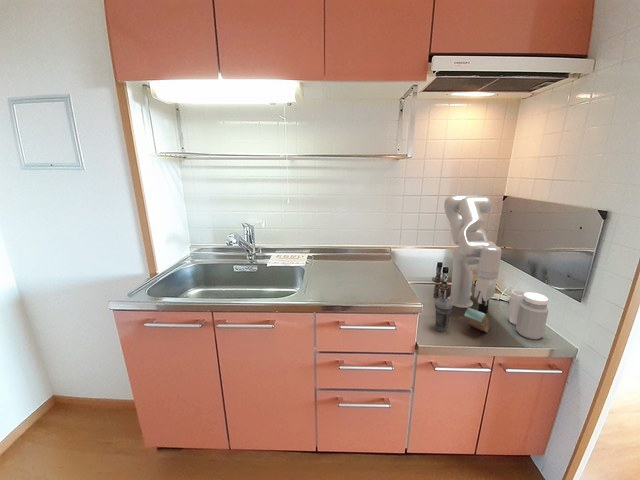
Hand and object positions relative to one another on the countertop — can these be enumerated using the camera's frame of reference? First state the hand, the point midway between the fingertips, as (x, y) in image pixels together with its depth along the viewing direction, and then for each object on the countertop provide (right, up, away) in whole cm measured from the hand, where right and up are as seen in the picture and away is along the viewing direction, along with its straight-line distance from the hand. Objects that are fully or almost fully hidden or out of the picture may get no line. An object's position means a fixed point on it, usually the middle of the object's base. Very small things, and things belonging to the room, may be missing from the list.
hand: (482, 312), depth 122 cm
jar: (+19, -9, -3) cm, 21 cm away
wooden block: (0, -7, +2) cm, 7 cm away
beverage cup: (-17, -9, +3) cm, 20 cm away
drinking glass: (+19, -7, +6) cm, 21 cm away
